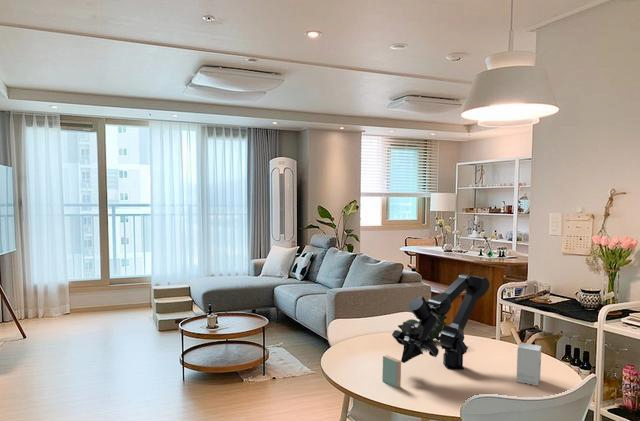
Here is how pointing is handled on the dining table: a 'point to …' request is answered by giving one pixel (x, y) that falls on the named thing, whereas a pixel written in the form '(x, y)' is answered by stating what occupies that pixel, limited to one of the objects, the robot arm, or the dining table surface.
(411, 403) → the dining table surface
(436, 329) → the toy figurine
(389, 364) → the tile
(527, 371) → the supplement box
